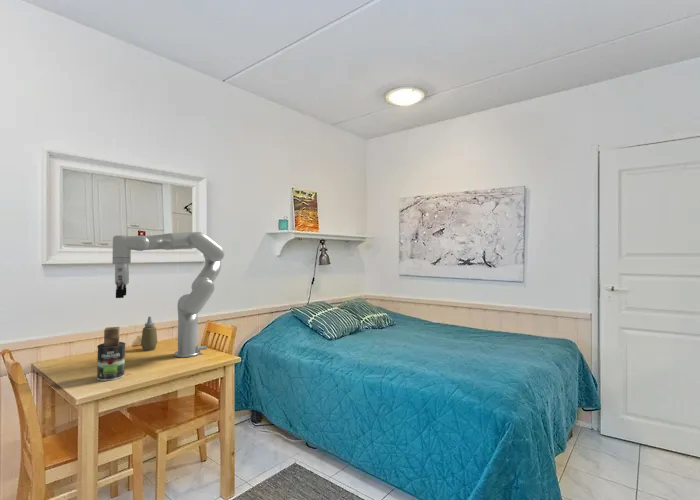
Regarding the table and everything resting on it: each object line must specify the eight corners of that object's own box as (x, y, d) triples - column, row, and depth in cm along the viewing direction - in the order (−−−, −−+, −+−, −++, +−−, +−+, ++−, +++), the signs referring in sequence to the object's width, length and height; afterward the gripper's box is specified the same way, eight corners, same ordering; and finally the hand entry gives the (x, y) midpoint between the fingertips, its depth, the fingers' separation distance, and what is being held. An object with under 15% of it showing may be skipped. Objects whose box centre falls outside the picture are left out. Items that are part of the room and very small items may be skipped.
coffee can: (124, 379, 163) (124, 346, 163) (95, 382, 159) (95, 348, 159) (125, 372, 173) (126, 340, 173) (98, 375, 168) (98, 343, 168)
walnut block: (119, 342, 169) (119, 326, 169) (117, 345, 164) (117, 329, 164) (105, 343, 167) (106, 327, 167) (104, 346, 162) (104, 329, 162)
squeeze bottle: (144, 347, 214) (145, 315, 214) (159, 347, 215) (160, 315, 215) (138, 351, 206) (138, 318, 206) (153, 351, 207) (154, 318, 207)
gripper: (128, 261, 178) (128, 298, 178) (132, 260, 194) (131, 294, 194) (109, 261, 175) (109, 299, 175) (115, 260, 191) (114, 294, 191)
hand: (121, 296), depth 184 cm, fingers open, 9 cm apart
